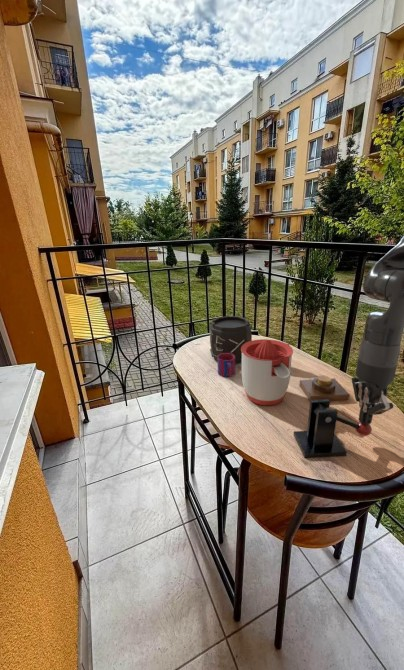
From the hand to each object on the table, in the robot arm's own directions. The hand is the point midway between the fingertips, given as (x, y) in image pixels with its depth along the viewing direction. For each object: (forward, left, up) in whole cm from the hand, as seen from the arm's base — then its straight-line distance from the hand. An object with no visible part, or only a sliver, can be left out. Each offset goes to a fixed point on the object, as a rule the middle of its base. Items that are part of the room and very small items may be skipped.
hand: (364, 422), depth 68 cm
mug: (+30, -38, -7) cm, 49 cm away
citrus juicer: (+19, -22, -7) cm, 30 cm away
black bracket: (+11, 0, -6) cm, 12 cm away
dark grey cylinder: (+27, -54, -7) cm, 61 cm away
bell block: (0, -23, -6) cm, 24 cm away
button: (0, -23, -3) cm, 23 cm away
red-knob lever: (+6, 0, -1) cm, 6 cm away
